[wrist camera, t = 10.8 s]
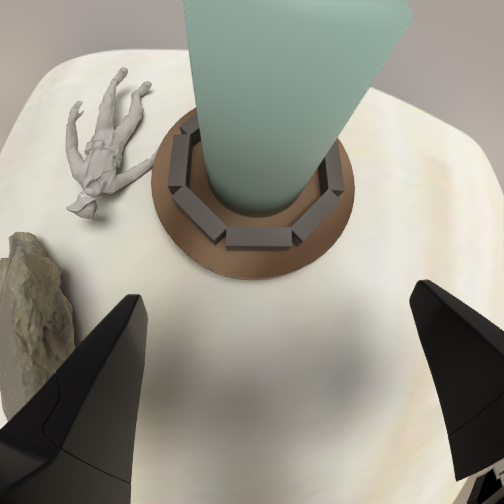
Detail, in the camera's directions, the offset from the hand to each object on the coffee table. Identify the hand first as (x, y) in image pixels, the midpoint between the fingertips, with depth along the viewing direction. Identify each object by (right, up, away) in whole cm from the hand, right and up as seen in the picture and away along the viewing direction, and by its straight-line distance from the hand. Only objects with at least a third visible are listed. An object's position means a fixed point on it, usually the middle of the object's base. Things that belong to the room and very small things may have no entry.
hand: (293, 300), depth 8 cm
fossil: (-17, -5, +8) cm, 19 cm away
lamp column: (-1, +6, +9) cm, 11 cm away
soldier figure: (-11, +9, +11) cm, 18 cm away
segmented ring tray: (-1, +6, +11) cm, 12 cm away
